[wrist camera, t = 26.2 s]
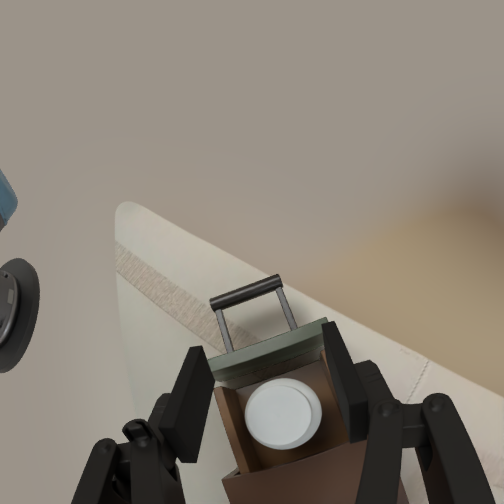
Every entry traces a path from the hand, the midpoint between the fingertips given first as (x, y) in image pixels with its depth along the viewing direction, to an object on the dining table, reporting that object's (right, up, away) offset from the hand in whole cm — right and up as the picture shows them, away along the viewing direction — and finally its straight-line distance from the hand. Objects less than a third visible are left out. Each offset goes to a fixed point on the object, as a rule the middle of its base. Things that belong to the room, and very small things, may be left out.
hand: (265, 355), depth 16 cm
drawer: (+2, -7, +10) cm, 12 cm away
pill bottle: (+3, -9, +8) cm, 12 cm away
